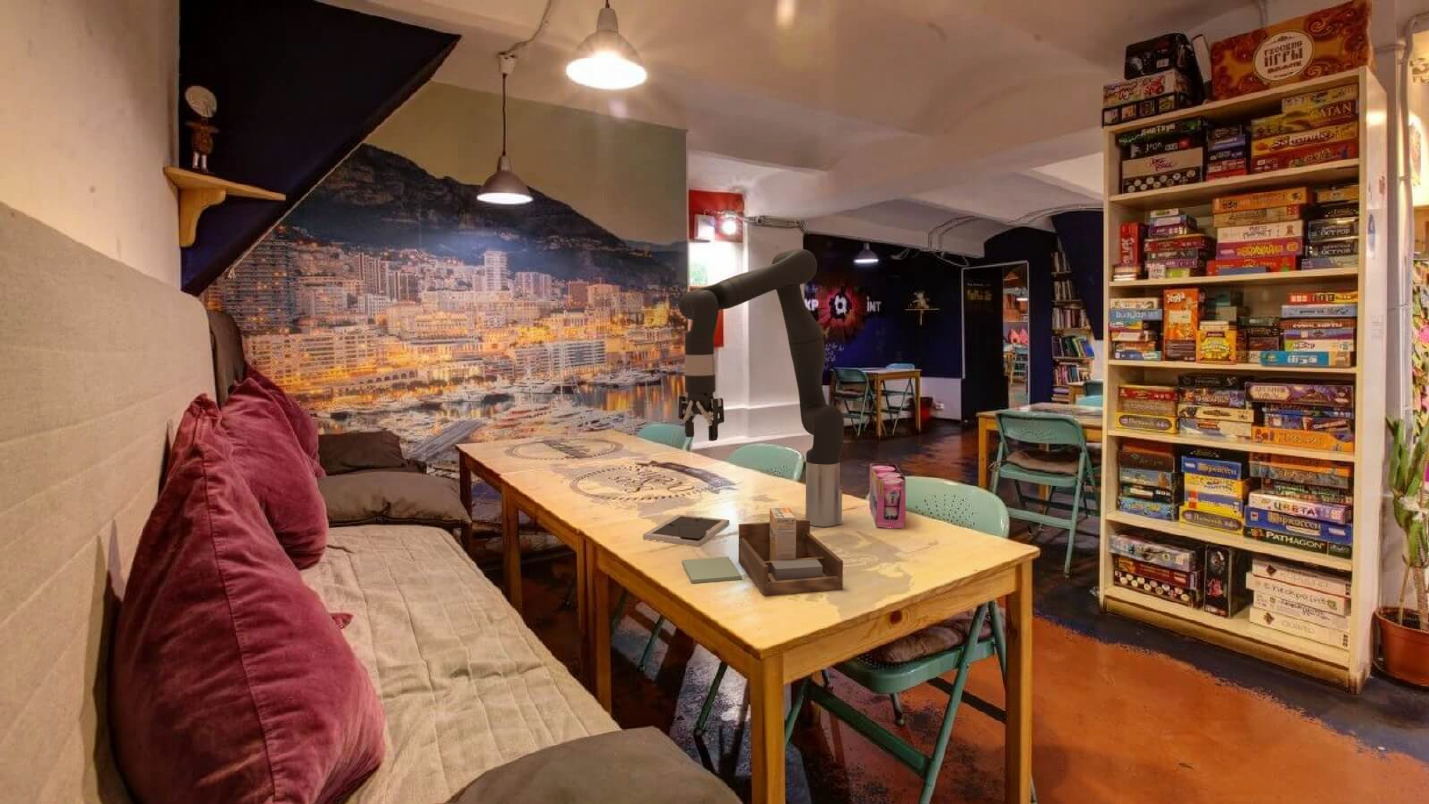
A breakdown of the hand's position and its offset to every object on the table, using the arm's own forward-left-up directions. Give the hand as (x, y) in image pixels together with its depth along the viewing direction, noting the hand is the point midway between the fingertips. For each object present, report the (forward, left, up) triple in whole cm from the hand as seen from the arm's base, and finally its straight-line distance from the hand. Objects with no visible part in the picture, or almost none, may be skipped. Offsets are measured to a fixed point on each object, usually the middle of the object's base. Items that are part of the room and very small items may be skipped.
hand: (701, 438), depth 170 cm
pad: (+2, +19, -27) cm, 33 cm away
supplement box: (-14, +21, -27) cm, 37 cm away
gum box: (-56, -13, -27) cm, 64 cm away
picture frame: (+2, -12, -28) cm, 30 cm away
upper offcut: (-14, +31, -25) cm, 42 cm away
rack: (-14, +25, -27) cm, 39 cm away
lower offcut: (-14, +31, -27) cm, 44 cm away
